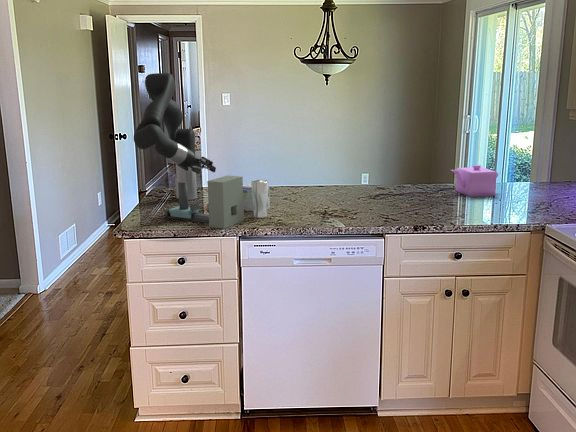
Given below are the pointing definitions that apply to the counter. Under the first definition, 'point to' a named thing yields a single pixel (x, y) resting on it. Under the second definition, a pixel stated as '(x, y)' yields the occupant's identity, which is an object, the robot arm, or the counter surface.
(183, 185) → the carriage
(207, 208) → the gauge plunger
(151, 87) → the robot arm
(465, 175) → the teapot
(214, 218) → the end cabinet
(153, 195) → the counter surface
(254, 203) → the beer glass
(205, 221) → the rail
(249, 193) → the light bulb box
